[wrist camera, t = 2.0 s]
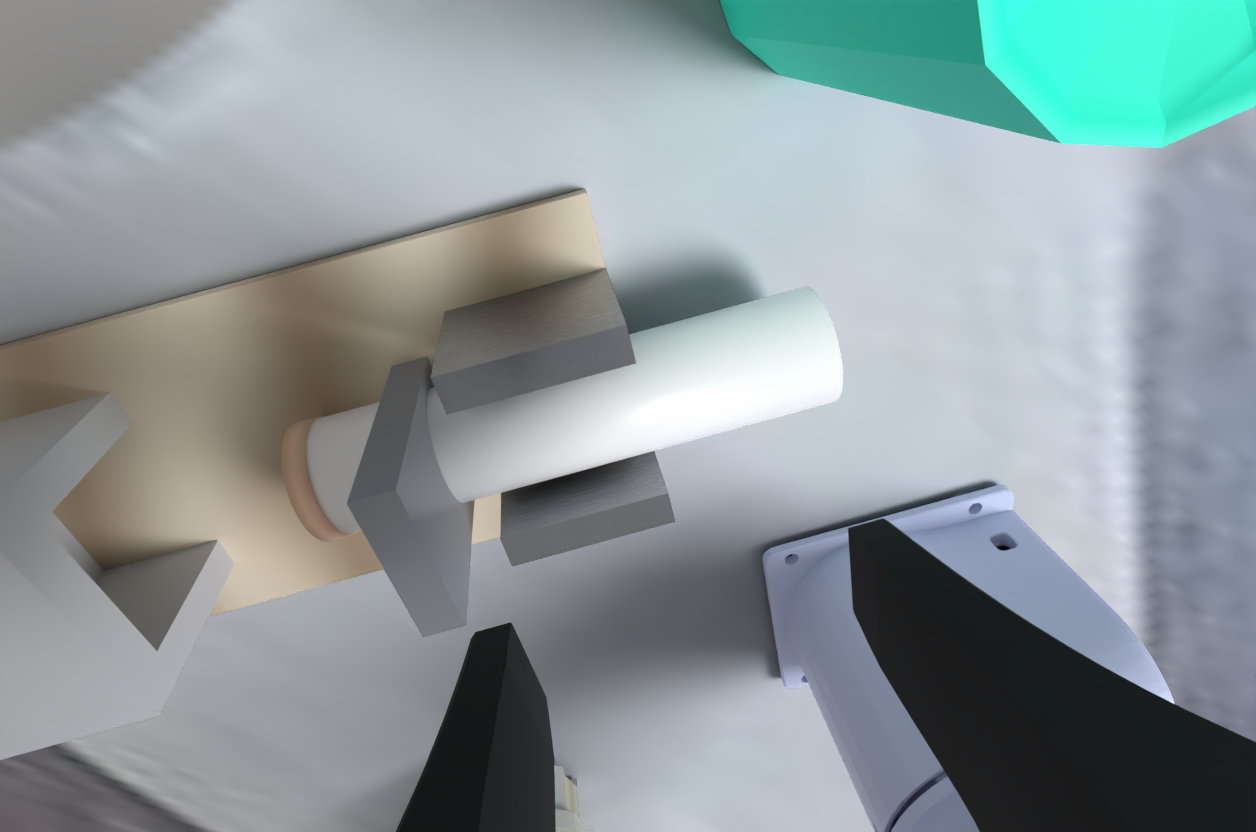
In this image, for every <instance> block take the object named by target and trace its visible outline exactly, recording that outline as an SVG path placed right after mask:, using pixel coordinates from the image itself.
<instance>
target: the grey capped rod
mask: <svg viewBox="0 0 1256 832" xmlns="http://www.w3.org/2000/svg"><path fill="white" fill-rule="evenodd" d="M554 772H555V819H556V832H589V825H588V824H586V823H585V822H584V821H583V820H582V819H581V818H580V817H579V806H578V793H577V780H576V779H572V780H569V779H568V778H567V777H566V776H565V775H564V767H561V766H557V765H554Z"/></svg>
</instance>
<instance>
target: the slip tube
mask: <svg viewBox="0 0 1256 832" xmlns="http://www.w3.org/2000/svg"><path fill="white" fill-rule="evenodd" d="M629 336H630V340H631V344H632V348H633V352H634V356H635V360H636V364H632V365H629V366H625V367H621V368H618V369H614V370H610V371H607V372H603V373H599V374H595V375H592V376H588V377H584V378H581V379H577V380H573V381H570V382H566V383H562V384H559V385H555V386H551V387H548V388H544V389H540V390H537V391H533V392H529V393H525V394H522V395H518V396H514V397H511V398H507V399H503V400H500V401H496V402H492V403H489V404H485V405H481V406H478V407H474V408H470V409H467V410H463V411H459V412H456V413H452V414H448V415H446V412H445V410H444V408H443V405H442V403H441V401H440V398H439V396H438V394H437V392H436V389H435V387H434V385H433V382H432V380H431V373H432V366H431V364H430V361H429V359H428V357H423V358H419V359H416V360H412V361H408V362H405V363H401V364H397V365H394V366H392V367H391V370H390V373H389V376H388V379H387V382H386V385H385V388H384V391H383V394H382V397H381V400H380V402H377V403H374V404H370V405H366V406H363V407H359V408H355V409H352V410H348V411H344V412H341V413H337V414H333V415H329V416H326V417H324V416H319V417H315V418H311V419H307V420H304V421H300V422H296V423H294V424H292V425H291V426H290V427H289V428H288V430H287V431H286V433H285V436H284V439H283V443H282V451H281V463H282V473H283V478H284V483H285V487H286V490H287V494H288V497H289V499H290V502H291V504H292V507H293V509H294V511H295V513H296V515H297V517H298V518H299V520H300V522H301V523H302V524H303V526H304V527H305V528H306V530H307V531H308V532H309V533H310V534H311V535H312V536H314V537H315V538H317V539H318V540H320V541H324V542H330V541H334V540H337V539H341V538H345V537H348V536H352V535H355V534H356V533H357V532H359V531H362V532H363V533H364V535H365V537H366V539H367V540H368V542H369V544H370V546H371V547H372V549H373V551H374V552H375V554H376V556H377V558H378V559H379V561H380V563H381V565H382V566H383V568H384V570H385V572H386V573H387V575H388V577H389V579H390V580H391V582H392V584H393V586H394V587H395V589H396V591H397V593H398V594H399V596H400V598H401V600H402V601H403V603H404V605H405V606H406V608H407V610H408V612H409V613H410V615H411V617H412V619H413V620H414V622H415V624H416V626H417V627H418V629H419V631H420V633H421V634H422V636H423V637H425V636H429V635H432V634H436V633H440V632H443V631H447V630H450V629H454V628H458V627H461V626H465V625H466V615H467V600H468V586H469V572H470V558H471V543H472V529H473V515H474V500H476V499H480V498H484V497H487V496H491V495H495V494H498V493H502V492H506V491H509V490H513V489H517V488H520V487H524V486H528V485H531V484H535V483H539V482H542V481H546V480H550V479H553V478H557V477H561V476H564V475H568V474H572V473H575V472H579V471H583V470H586V469H590V468H594V467H597V466H601V465H605V464H608V463H612V462H616V461H619V460H623V459H627V458H630V457H634V456H638V455H641V454H645V453H648V452H652V451H656V450H659V449H663V448H667V447H670V446H674V445H678V444H681V443H685V442H689V441H692V440H696V439H700V438H703V437H707V436H711V435H714V434H718V433H722V432H725V431H729V430H733V429H736V428H740V427H744V426H747V425H751V424H755V423H758V422H762V421H766V420H769V419H773V418H777V417H780V416H784V415H788V414H791V413H795V412H799V411H802V410H806V409H810V408H813V407H817V406H821V405H824V404H828V403H831V402H835V401H837V400H838V399H839V397H840V395H841V392H842V386H843V368H842V360H841V353H840V348H839V344H838V340H837V336H836V333H835V330H834V327H833V324H832V321H831V318H830V316H829V314H828V311H827V309H826V307H825V305H824V303H823V302H822V300H821V299H820V297H819V296H818V294H817V293H816V292H815V291H814V290H813V289H811V288H810V287H802V288H798V289H794V290H791V291H787V292H783V293H780V294H776V295H772V296H769V297H765V298H761V299H758V300H754V301H750V302H746V303H743V304H739V305H735V306H732V307H728V308H724V309H721V310H717V311H713V312H710V313H706V314H702V315H698V316H695V317H691V318H687V319H684V320H680V321H676V322H673V323H669V324H665V325H662V326H658V327H654V328H651V329H647V330H643V331H639V332H636V333H632V334H629Z"/></svg>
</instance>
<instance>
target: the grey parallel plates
mask: <svg viewBox="0 0 1256 832" xmlns="http://www.w3.org/2000/svg"><path fill="white" fill-rule="evenodd" d="M632 364H636V360H635V356H634V352H633V348H632V344H631V340H630V336H629V332H628V328H627V324H626V321H625V318H624V316H623V313H622V310H621V308H620V305H619V302H618V300H617V297H616V294H615V292H614V289H613V286H612V284H611V281H610V278H609V276H608V273H607V270H606V268H604V269H601V270H597V271H593V272H590V273H586V274H582V275H578V276H575V277H571V278H567V279H564V280H560V281H556V282H552V283H549V284H545V285H541V286H538V287H534V288H530V289H527V290H523V291H519V292H515V293H512V294H508V295H504V296H501V297H497V298H493V299H489V300H486V301H482V302H478V303H475V304H471V305H467V306H463V307H460V308H456V309H452V310H449V311H445V312H444V317H443V321H442V326H441V331H440V335H439V340H438V345H437V349H436V354H435V359H434V364H433V368H432V373H431V380H432V382H433V385H434V387H435V389H436V392H437V394H438V396H439V398H440V401H441V403H442V405H443V408H444V410H445V412H446V415H448V414H452V413H456V412H459V411H463V410H467V409H470V408H474V407H478V406H481V405H485V404H489V403H492V402H496V401H500V400H503V399H507V398H511V397H514V396H518V395H522V394H525V393H529V392H533V391H537V390H540V389H544V388H548V387H551V386H555V385H559V384H562V383H566V382H570V381H573V380H577V379H581V378H584V377H588V376H592V375H595V374H599V373H603V372H607V371H610V370H614V369H618V368H621V367H625V366H629V365H632ZM672 522H675V519H674V515H673V511H672V507H671V503H670V499H669V495H668V491H667V488H666V485H665V482H664V479H663V476H662V473H661V470H660V467H659V464H658V461H657V458H656V455H655V452H654V451H652V452H648V453H645V454H641V455H638V456H634V457H630V458H627V459H623V460H619V461H616V462H612V463H608V464H605V465H601V466H597V467H594V468H590V469H586V470H583V471H579V472H575V473H572V474H568V475H564V476H561V477H557V478H553V479H550V480H546V481H542V482H539V483H535V484H531V485H528V486H524V487H520V488H517V489H513V490H509V491H506V492H502V493H501V532H500V539H501V542H502V544H503V546H504V548H505V551H506V553H507V555H508V558H509V560H510V562H511V565H512V566H515V565H519V564H522V563H526V562H530V561H533V560H537V559H541V558H544V557H548V556H552V555H555V554H559V553H563V552H566V551H570V550H573V549H577V548H581V547H584V546H588V545H592V544H595V543H599V542H603V541H606V540H610V539H614V538H617V537H621V536H624V535H628V534H632V533H635V532H639V531H643V530H646V529H650V528H654V527H657V526H661V525H664V524H668V523H672Z"/></svg>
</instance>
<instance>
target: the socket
mask: <svg viewBox="0 0 1256 832" xmlns="http://www.w3.org/2000/svg"><path fill="white" fill-rule="evenodd" d="M131 424H132V422H131V420H130V419H129V417H128V416H127V415H126V413H125V412H124V411H123V409H122V408H121V406H120V405H119V404H118V402H117V401H116V400H115V398H114V397H113V396H112V394H111V393H106V394H102V395H99V396H95V397H91V398H88V399H84V400H80V401H76V402H73V403H69V404H65V405H62V406H58V407H54V408H50V409H47V410H43V411H39V412H36V413H32V414H28V415H24V416H21V417H17V418H13V419H10V420H6V421H2V422H0V760H2V759H5V758H9V757H13V756H16V755H20V754H24V753H27V752H31V751H34V750H38V749H42V748H45V747H49V746H53V745H56V744H60V743H63V742H67V741H71V740H74V739H78V738H82V737H85V736H89V735H92V734H96V733H100V732H103V731H107V730H111V729H114V728H118V727H122V726H125V725H129V724H132V723H136V722H140V721H143V720H147V719H151V718H154V717H158V716H160V714H161V712H162V710H163V708H164V706H165V704H166V702H167V700H168V698H169V695H170V693H171V691H172V689H173V687H174V685H175V683H176V681H177V679H178V677H179V675H180V673H181V671H182V669H183V667H184V665H185V663H186V661H187V659H188V657H189V655H190V653H191V651H192V649H193V647H194V645H195V643H196V641H197V639H198V637H199V635H200V633H201V631H202V629H203V627H204V625H205V623H206V621H207V619H208V617H209V615H210V613H211V611H212V609H213V607H214V605H215V603H216V600H217V598H218V596H219V594H220V592H221V590H222V588H223V586H224V584H225V582H226V580H227V578H228V576H229V574H230V572H231V570H232V568H233V566H234V564H235V562H234V561H233V560H232V558H231V557H230V556H229V554H228V553H227V551H226V550H225V549H224V547H223V546H222V545H221V543H220V542H219V540H216V541H213V542H209V543H205V544H202V545H198V546H194V547H191V548H187V549H183V550H180V551H176V552H172V553H169V554H165V555H161V556H158V557H154V558H150V559H147V560H143V561H139V562H136V563H132V564H128V565H125V566H121V567H117V568H114V569H110V570H106V571H104V570H103V569H102V568H101V567H100V566H99V565H98V564H97V562H96V561H95V560H94V559H93V558H92V557H91V556H90V554H89V553H88V552H87V551H86V550H85V549H84V548H83V546H82V545H81V544H80V543H79V542H78V541H77V540H76V539H75V537H74V536H73V535H72V534H71V533H70V532H69V531H68V529H67V528H66V527H65V526H64V525H63V524H62V523H61V521H60V520H59V519H58V518H57V517H56V516H55V515H54V514H53V512H52V511H53V510H54V509H55V508H56V507H57V506H58V505H59V503H60V502H61V501H62V500H63V499H64V498H65V497H66V496H67V495H68V494H69V493H70V491H71V490H72V489H73V488H74V487H75V486H76V485H77V484H78V483H79V482H80V480H81V479H82V478H83V477H84V476H85V475H86V474H87V473H88V472H89V471H90V469H91V468H92V467H93V466H94V465H95V464H96V463H97V462H98V461H99V460H100V458H101V457H102V456H103V455H104V454H105V453H106V452H107V451H108V450H109V449H110V447H111V446H112V445H113V444H114V443H115V442H116V441H117V440H118V439H119V438H120V436H121V435H122V434H123V433H124V432H125V431H126V430H127V429H128V428H129V427H130V425H131Z"/></svg>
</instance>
